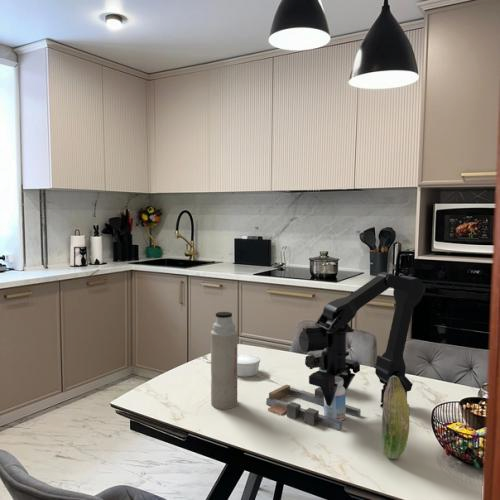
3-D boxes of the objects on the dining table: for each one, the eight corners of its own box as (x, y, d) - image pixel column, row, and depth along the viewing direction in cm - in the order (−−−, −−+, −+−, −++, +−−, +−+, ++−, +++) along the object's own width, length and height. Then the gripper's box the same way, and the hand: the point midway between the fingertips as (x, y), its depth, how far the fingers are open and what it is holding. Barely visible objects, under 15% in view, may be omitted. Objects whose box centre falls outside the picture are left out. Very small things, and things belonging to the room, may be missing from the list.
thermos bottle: (239, 399, 141) (240, 310, 139) (233, 410, 134) (233, 316, 131) (215, 397, 143) (214, 309, 141) (207, 407, 135) (207, 315, 133)
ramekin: (224, 370, 168) (224, 356, 167) (251, 365, 172) (251, 352, 172) (236, 380, 157) (236, 365, 157) (265, 375, 162) (265, 361, 162)
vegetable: (408, 455, 109) (411, 374, 107) (406, 469, 103) (409, 383, 102) (382, 450, 112) (385, 371, 110) (379, 463, 106) (381, 379, 104)
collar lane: (365, 411, 133) (365, 400, 133) (333, 434, 119) (333, 421, 119) (294, 389, 149) (294, 379, 149) (259, 407, 136) (259, 395, 135)
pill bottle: (344, 413, 132) (344, 375, 131) (346, 422, 126) (347, 383, 125) (322, 412, 133) (323, 374, 132) (324, 421, 127) (325, 382, 126)
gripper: (328, 336, 140) (327, 385, 141) (293, 349, 126) (292, 404, 127) (361, 342, 133) (360, 394, 134) (328, 358, 119) (326, 416, 120)
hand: (334, 401), depth 129 cm, fingers closed on pill bottle, 6 cm apart
